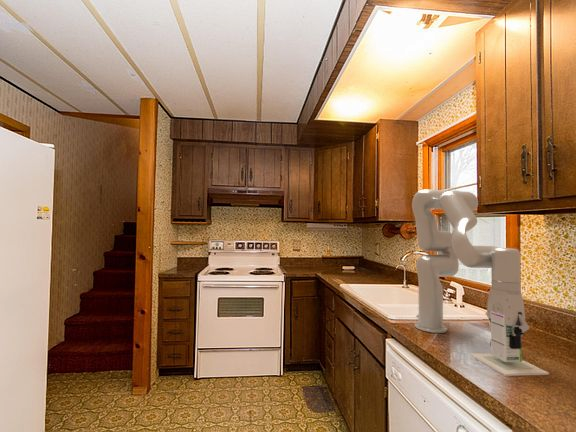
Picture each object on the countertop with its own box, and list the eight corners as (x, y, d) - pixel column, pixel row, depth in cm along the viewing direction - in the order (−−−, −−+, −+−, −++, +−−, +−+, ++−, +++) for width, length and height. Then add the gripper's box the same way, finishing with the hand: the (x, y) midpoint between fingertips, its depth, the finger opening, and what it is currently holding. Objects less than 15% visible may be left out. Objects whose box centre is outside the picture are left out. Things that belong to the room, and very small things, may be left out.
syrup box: (505, 362, 91) (505, 314, 92) (490, 354, 97) (490, 309, 98) (522, 362, 92) (522, 314, 92) (506, 354, 97) (506, 309, 98)
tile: (470, 355, 100) (470, 353, 100) (508, 355, 102) (508, 352, 102) (505, 375, 86) (505, 373, 86) (548, 374, 88) (548, 371, 88)
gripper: (475, 281, 103) (475, 334, 103) (518, 292, 86) (519, 356, 85) (495, 282, 104) (495, 334, 103) (542, 292, 87) (542, 355, 86)
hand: (506, 343), depth 94 cm, fingers closed on syrup box, 5 cm apart
